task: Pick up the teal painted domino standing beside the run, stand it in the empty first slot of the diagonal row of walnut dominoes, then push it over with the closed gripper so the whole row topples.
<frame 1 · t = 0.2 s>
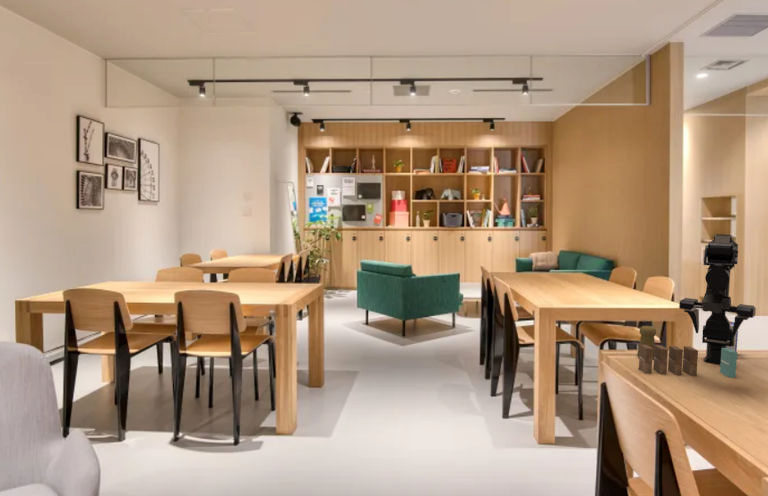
hand: (714, 335, 157), 14 cm above the table, fingers open, 9 cm apart
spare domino: (727, 374, 165), on the table
domino 3: (674, 372, 167), on the table
domino 4: (659, 371, 167), on the table
cork: (646, 357, 183), on the table
walkman: (730, 356, 188), on the table
domino 5: (645, 371, 167), on the table
domino 2: (689, 373, 166), on the table
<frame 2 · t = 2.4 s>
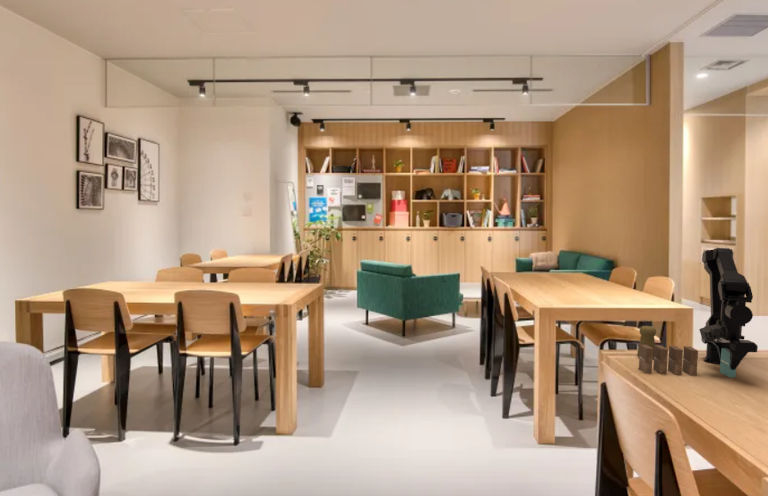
hand: (728, 366, 165), 3 cm above the table, fingers closed on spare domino, 5 cm apart
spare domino: (727, 374, 165), on the table, touching gripper
everything else where it was.
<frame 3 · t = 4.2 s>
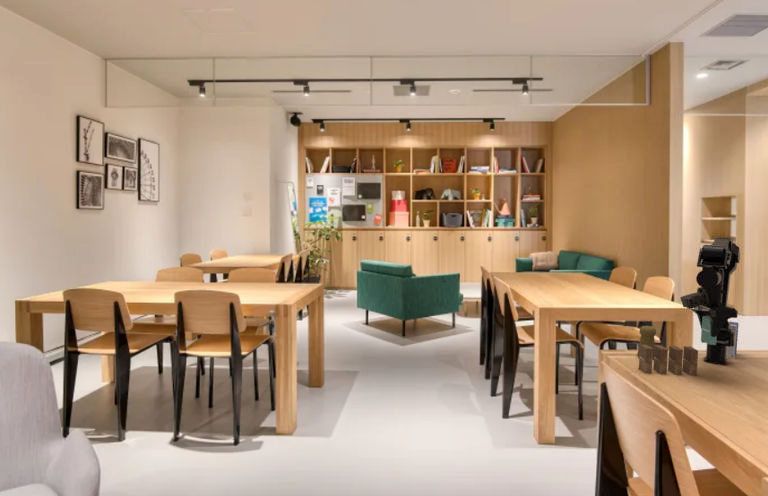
hand: (708, 334, 165), 13 cm above the table, fingers closed on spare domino, 5 cm apart
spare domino: (708, 342, 165), point 10 cm above the table, touching gripper
everything else where it was.
when the fingers open (4 cm above the table, at t = 6.3 s): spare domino stays where it is, on the table.
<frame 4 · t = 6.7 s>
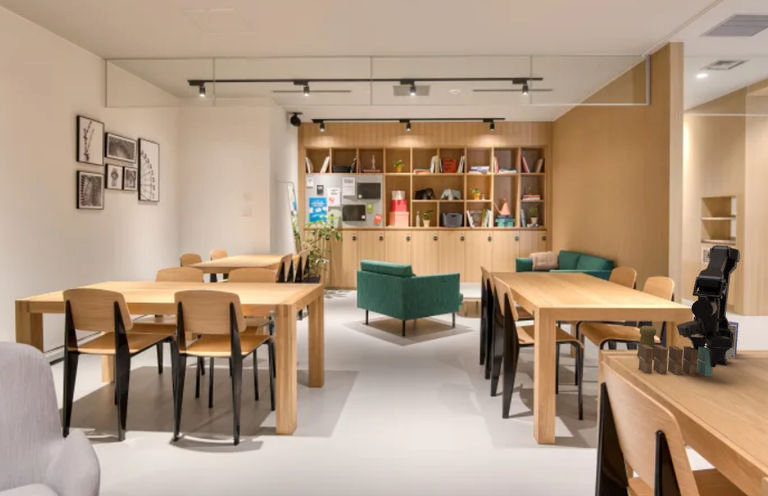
hand: (705, 362, 165), 4 cm above the table, fingers open, 9 cm apart
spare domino: (704, 373, 166), on the table
everything else where it was.
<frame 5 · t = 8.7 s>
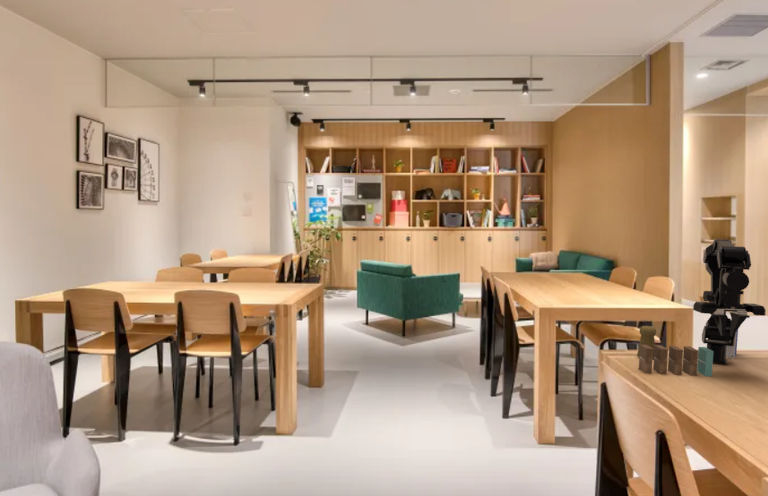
hand: (726, 335, 164), 13 cm above the table, fingers open, 3 cm apart
nothing on the table moved.
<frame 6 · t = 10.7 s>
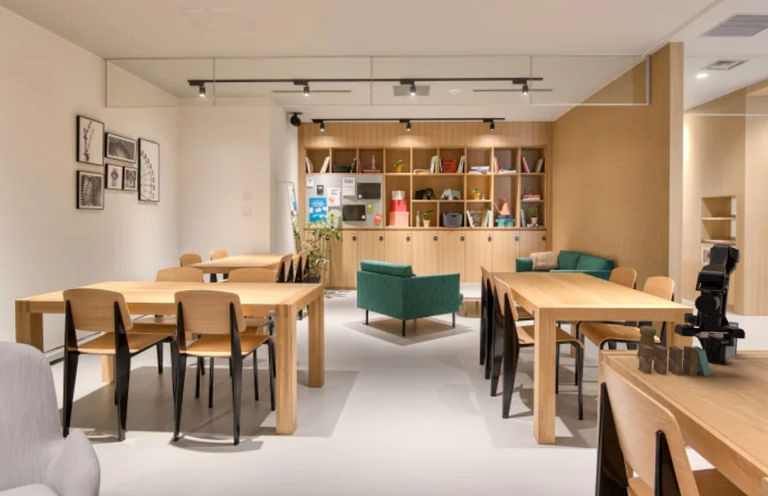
hand: (707, 358, 165), 5 cm above the table, fingers closed
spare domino: (704, 372, 166), on the table, tilted 18°
everything else where it was.
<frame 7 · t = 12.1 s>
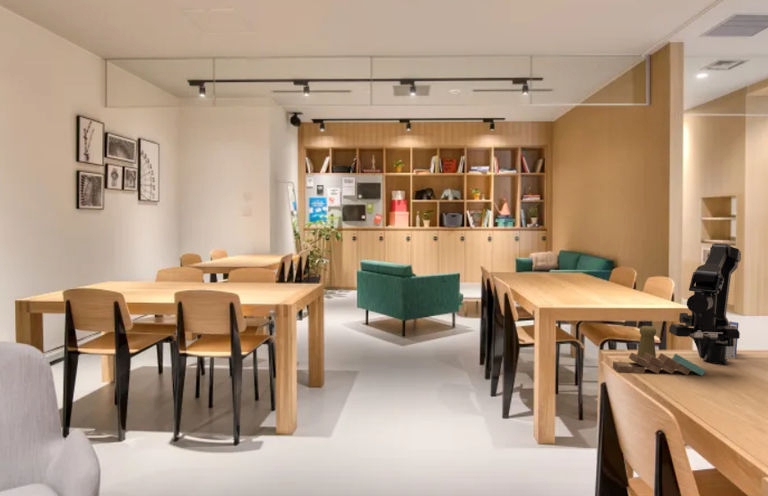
hand: (702, 358, 165), 5 cm above the table, fingers closed
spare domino: (699, 370, 166), point 1 cm above the table, tilted 62°, touching domino 2
domino 3: (670, 369, 167), point 1 cm above the table, tilted 62°, touching domino 2, domino 4
domino 4: (655, 368, 167), point 1 cm above the table, tilted 64°, touching domino 3, domino 5
domino 5: (641, 368, 167), point 1 cm above the table, tilted 89°, touching domino 4
domino 2: (685, 370, 166), point 1 cm above the table, tilted 62°, touching domino 3, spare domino
everything else where it was.
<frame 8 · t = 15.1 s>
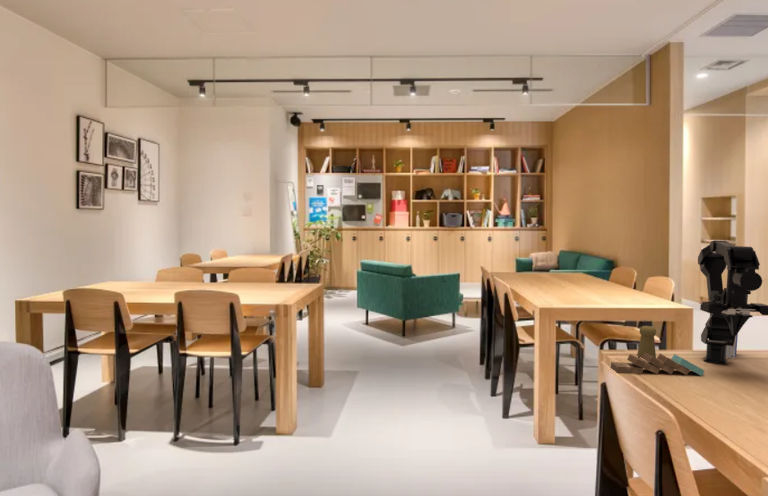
hand: (734, 335, 165), 12 cm above the table, fingers closed
domino 3: (669, 369, 167), point 1 cm above the table, tilted 62°, touching domino 2, domino 4
domino 4: (654, 368, 167), point 1 cm above the table, tilted 68°, touching domino 3
domino 5: (639, 368, 167), point 1 cm above the table, tilted 89°
at the end: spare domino inside the target area (1.3 cm from its centre), point 0.8 cm above the table; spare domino tilted 62°; domino 5 tilted 89° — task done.
